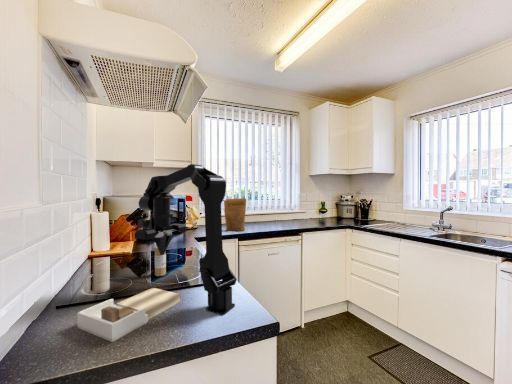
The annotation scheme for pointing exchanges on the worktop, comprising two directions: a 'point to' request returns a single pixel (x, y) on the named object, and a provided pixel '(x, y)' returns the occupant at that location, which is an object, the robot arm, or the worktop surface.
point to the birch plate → (151, 301)
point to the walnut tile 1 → (110, 314)
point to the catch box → (105, 329)
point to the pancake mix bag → (235, 214)
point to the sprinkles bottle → (159, 262)
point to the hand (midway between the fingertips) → (162, 254)
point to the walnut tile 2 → (124, 312)
